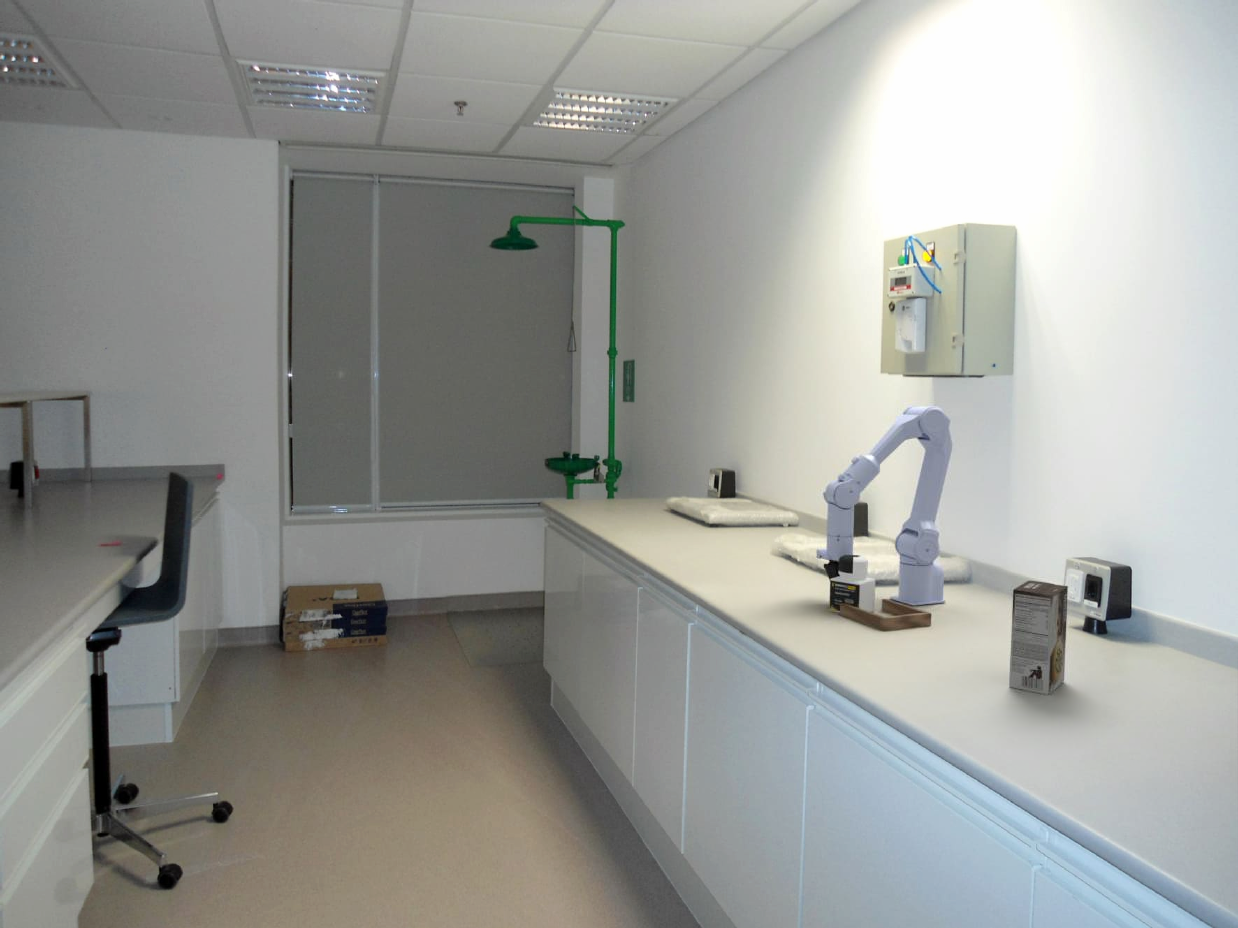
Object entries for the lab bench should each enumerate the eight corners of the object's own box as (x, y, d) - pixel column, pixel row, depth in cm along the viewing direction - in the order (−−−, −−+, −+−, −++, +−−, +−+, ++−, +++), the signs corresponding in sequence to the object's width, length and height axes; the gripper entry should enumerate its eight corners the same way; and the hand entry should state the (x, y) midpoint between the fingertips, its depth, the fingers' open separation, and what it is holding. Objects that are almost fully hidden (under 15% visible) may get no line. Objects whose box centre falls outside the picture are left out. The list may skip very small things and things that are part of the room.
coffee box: (1024, 674, 156) (1028, 579, 155) (1065, 681, 152) (1069, 584, 151) (1007, 687, 149) (1011, 588, 148) (1049, 695, 145) (1054, 594, 144)
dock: (885, 610, 201) (885, 598, 201) (930, 625, 188) (931, 613, 188) (839, 615, 196) (840, 603, 196) (883, 630, 184) (883, 618, 183)
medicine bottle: (828, 610, 200) (830, 555, 199) (845, 605, 205) (846, 551, 204) (858, 616, 195) (860, 560, 194) (875, 611, 200) (876, 556, 199)
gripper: (805, 531, 210) (804, 590, 212) (845, 540, 197) (843, 603, 198) (831, 529, 213) (830, 587, 214) (872, 539, 200) (870, 601, 201)
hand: (838, 595), depth 206 cm, fingers closed
